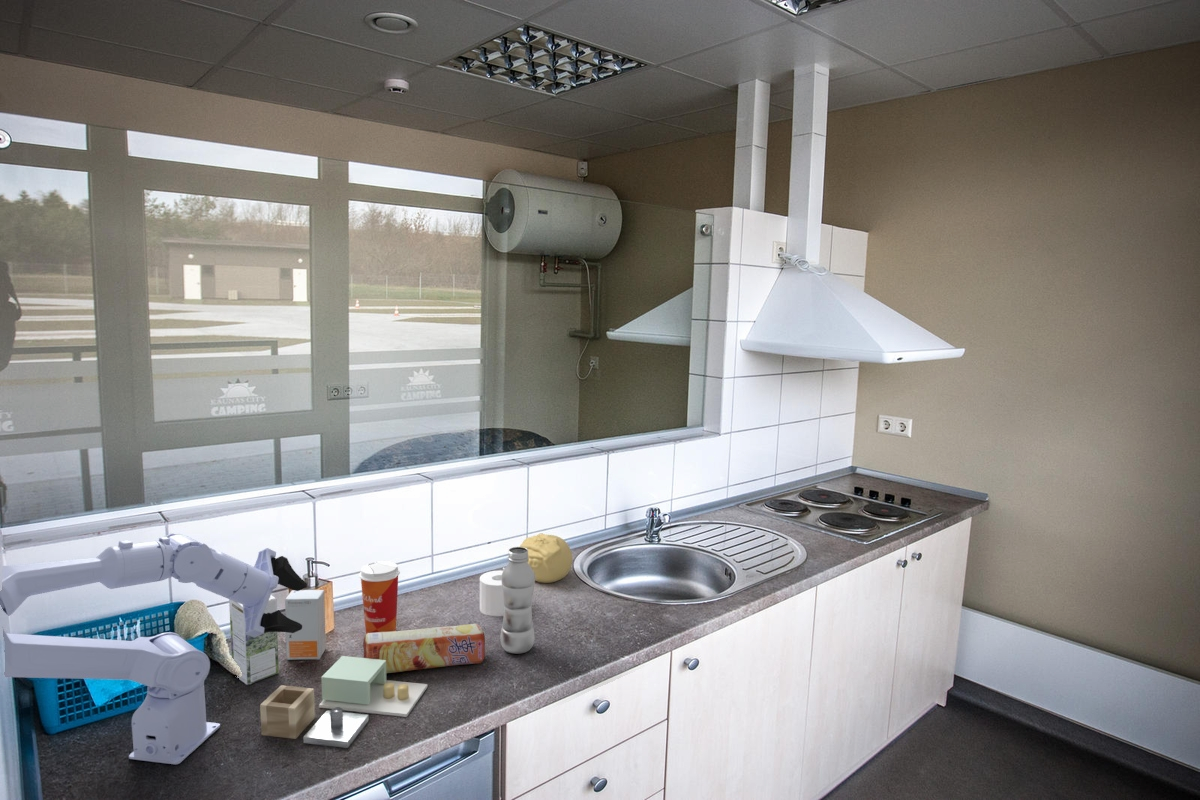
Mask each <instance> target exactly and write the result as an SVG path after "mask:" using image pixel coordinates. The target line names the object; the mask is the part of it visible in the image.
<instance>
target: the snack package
mask: <svg viewBox="0 0 1200 800" xmlns="http://www.w3.org/2000/svg"><path fill="white" fill-rule="evenodd" d="M485 638H486V637H485V633H484V631H483V628H482V626H480V624H478V623H470V624H460V625H450V626H437V627H427V628H417V629H409V630H407V629H406V630H396V631H392V632H377V633H367V634H366V633H365V635H364V637H363V640H362V641H363V645H362V646H363V658H369V659H379V660H386V674H391V673H400V672H401V673H402V672H409V671H410V672H411V671H417V670H423V669H424V670H425V669H432V668H442V667H448V666H449V667H451V666H459V665H471V664H480V663H482V662H483V661H484V659H485V655H486V650H485V649H486V639H485Z"/></svg>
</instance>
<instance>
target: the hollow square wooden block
mask: <svg viewBox="0 0 1200 800" xmlns="http://www.w3.org/2000/svg"><path fill="white" fill-rule="evenodd" d="M315 702H316V701H315V688H311V687H301V686H292V685H283V684H281V685H280V686H278V688H276V689H275V690H274V691H273V692H272V693H270V695H269V696H268V697H267V698H266V699H264V701H262V702H261V703H260V704H259V709H260V729H261V732H260V733H261V736H265V737H274V738H275V737H277V738H283V739H284V738H285V739H293V740H294V739H295V740H296V739H298V737H299V736H300V735H301V734H302V733H303V731H305V729H306V728H308V726H309V725H310V724H311V723H312V721H314V719H315V718H316V709H315V707H316V706H315V705H316V704H315Z"/></svg>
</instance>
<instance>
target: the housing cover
mask: <svg viewBox="0 0 1200 800" xmlns="http://www.w3.org/2000/svg"><path fill="white" fill-rule="evenodd" d="M386 680H387V673H386V660H379V659H369V658H364V657H359V656H358V657H357V656H347V655H341V656H340V658H339V659H337V660H336V661H335V662H334V664H333V665H332V666H330V668H329V669H328V670H326V672H325V673H323V675H321V700H322V701H323V700H330V701H340V702H349V703H359V704H369V703H370V683H377V684H385V683H386Z"/></svg>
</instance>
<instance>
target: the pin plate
mask: <svg viewBox="0 0 1200 800" xmlns="http://www.w3.org/2000/svg"><path fill="white" fill-rule="evenodd" d="M369 716H370V715H369V714H364V713H362V714H361V713H353V712H345V711H344V710H343V709H342V708H340V707H336V708H333V709H330V710H328V709H327V710H326V711H325V712H324V713H323V714H322V715H321V717H319V719H318V720H317V721H316V722H315V723H314V725H313V726H312V727H311V728H310V729H309V730H308V731H307V732H306V733H305V735H304V736H303V738H302V739H303V744H311V745H320V746H325V747H326V746H327V747H334V748H336V747H337V748H344V749H348V748H349V747H350V745H351V744H352V743H353V742H354V740H355V739H356V738H357V736H358V735H359V734H360V732H361V731H362V730H363V729H364V727H365V726H366V725H367V724H368V722H369Z"/></svg>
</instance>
